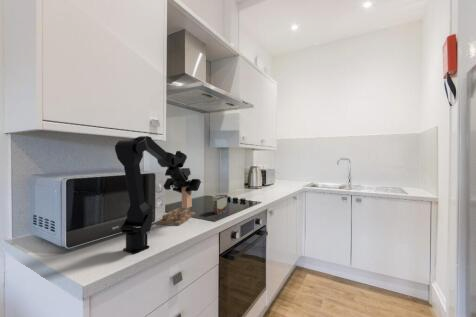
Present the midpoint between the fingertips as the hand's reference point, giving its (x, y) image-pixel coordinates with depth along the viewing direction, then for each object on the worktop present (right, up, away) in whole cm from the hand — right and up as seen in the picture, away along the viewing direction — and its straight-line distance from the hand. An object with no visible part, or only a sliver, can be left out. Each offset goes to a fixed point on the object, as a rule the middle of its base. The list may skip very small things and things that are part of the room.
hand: (188, 194), depth 118 cm
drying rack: (-6, -14, +1) cm, 15 cm away
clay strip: (0, -7, -1) cm, 7 cm away
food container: (+15, -14, +17) cm, 27 cm away
